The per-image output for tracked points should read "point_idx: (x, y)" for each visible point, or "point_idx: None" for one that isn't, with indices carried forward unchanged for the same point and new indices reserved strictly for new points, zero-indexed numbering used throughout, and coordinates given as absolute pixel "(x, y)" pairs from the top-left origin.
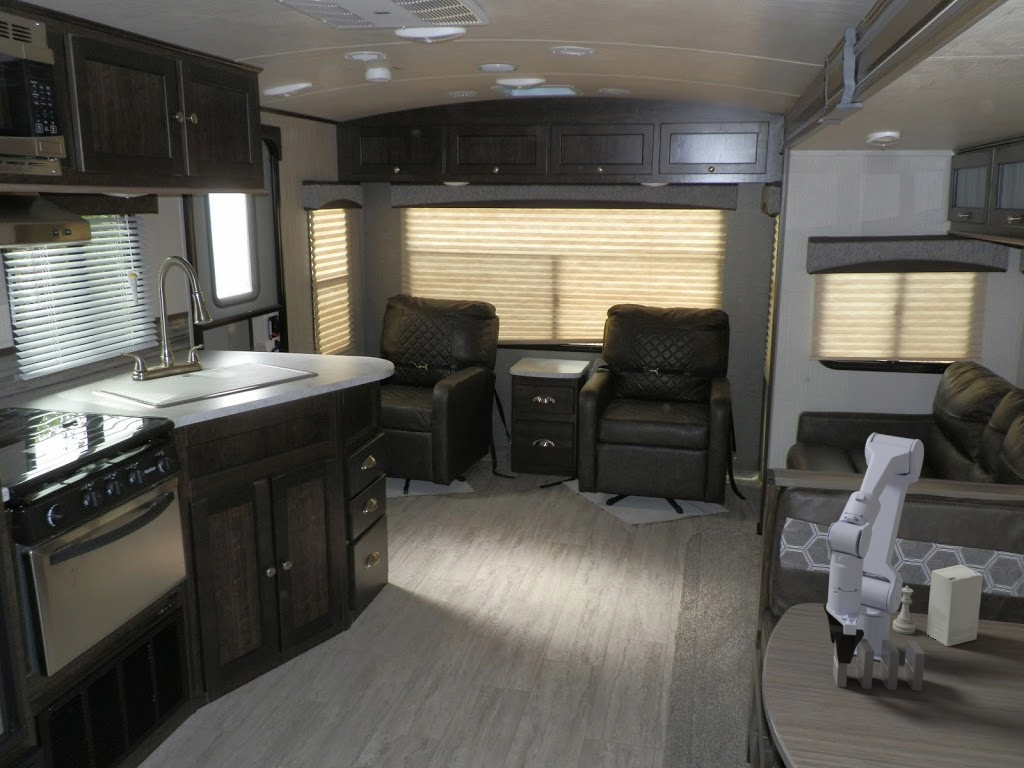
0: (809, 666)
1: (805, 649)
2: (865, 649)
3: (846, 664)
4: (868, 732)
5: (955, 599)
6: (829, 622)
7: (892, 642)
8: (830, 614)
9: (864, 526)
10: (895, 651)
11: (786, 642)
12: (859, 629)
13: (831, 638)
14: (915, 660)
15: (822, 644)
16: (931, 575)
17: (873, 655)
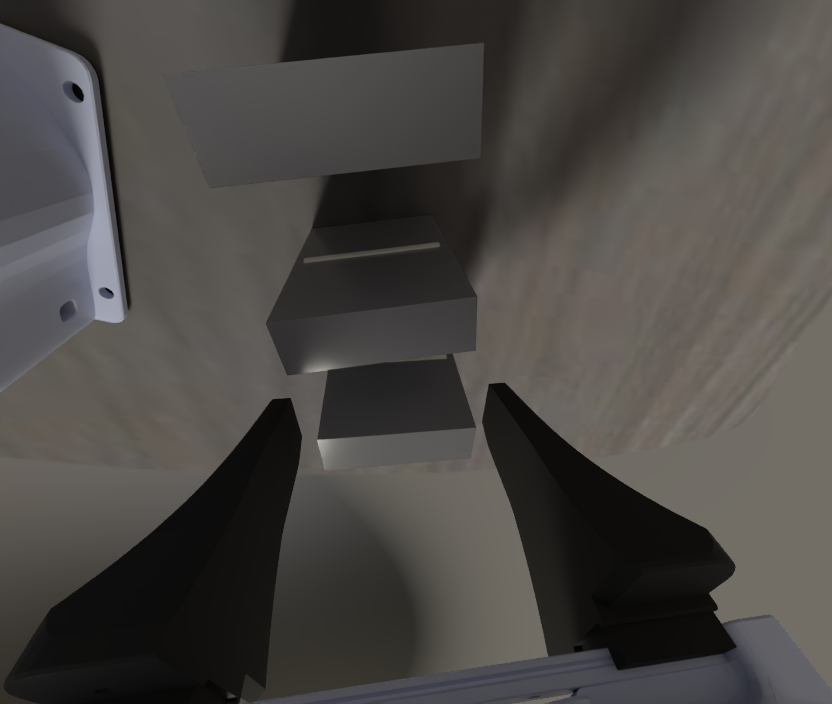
0: (314, 401)
1: (187, 409)
2: (450, 347)
3: (456, 374)
4: (716, 275)
5: None
6: (275, 563)
7: (233, 70)
8: (262, 635)
9: None
10: (459, 92)
11: (168, 451)
12: (632, 585)
13: (298, 460)
14: None
15: (95, 359)
16: None
17: (468, 285)
